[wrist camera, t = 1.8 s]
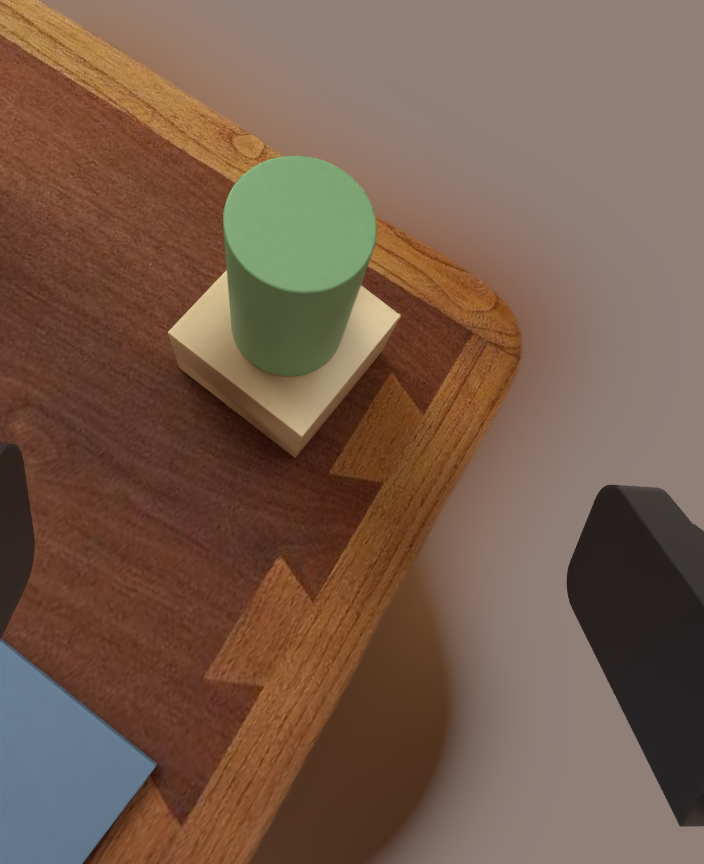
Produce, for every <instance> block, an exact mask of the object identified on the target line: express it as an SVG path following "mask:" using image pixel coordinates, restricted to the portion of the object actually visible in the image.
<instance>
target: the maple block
mask: <svg viewBox="0 0 704 864" xmlns="http://www.w3.org/2000/svg"><path fill="white" fill-rule="evenodd" d="M399 318H400V315H399V314H398V313H397V312H395V311H394V310H393V309H391V308H390V307H389V306H387V305H386V304H385V303H383V302H382V301H381V300H380V299H378V298H377V297H376V296H374V295H373V294H372V293H370V292H369V291H368V290H366V289H365V288H364V287H363V286H360V289H359V292H358V295H357V298H356V300H355V303H354V306H353V309H352V312H351V315H350V317H349V320H348V323H347V326H346V329H345V332H344V334H343V337H342V340H341V343H340V346H339V347H338V349H337V351H336V353H335V354H334V355H333V357H332V358H331V359H330V360H329V361H328V362H327V363H326V364H324V365H323V366H322V367H320V368H319V369H317V370H315V371H313V372H310V373H307V374H304V375H299V376H279V375H275V374H271V373H269V372H266V371H264V370H262V369H260V368H258V367H256V366H255V365H253V364H252V363H251V362H250V361H249V360H248V359H246V357H245V356H244V355H243V354H242V353H241V351H240V350H239V348H238V347H237V344H236V342H235V340H234V337H233V334H232V329H231V318H230V305H229V292H228V279H227V270H226V271H225V272H224V273H223V275H222V276H221V277H220V278H219V279H218V280H217V281H216V282H215V283H214V284H213V285H212V286H211V287H210V288H209V289H208V290H207V291H206V293H205V294H204V295H203V296H202V297H201V298H200V299H199V300H198V301H197V302H196V303H195V304H194V305H193V306H192V307H191V308H190V309H189V311H188V312H187V313H186V314H185V315H184V316H183V317H182V318H181V319H180V320H179V321H178V322H177V323H176V324H175V325H174V326H173V327H172V328H171V330H170V331H169V332H168V335H169V338H170V341H171V344H172V347H173V350H174V353H175V356H176V359H177V362H178V366H179V368H180V369H181V370H183V371H184V372H185V373H186V374H188V375H189V376H190V377H192V378H193V379H194V380H195V381H197V382H198V383H199V384H201V385H202V386H203V387H204V388H206V389H207V390H208V391H210V392H211V393H212V394H213V395H215V396H216V397H217V398H218V399H220V400H221V401H222V402H224V403H225V404H226V405H227V406H229V407H230V408H231V409H233V410H234V411H235V412H236V413H238V414H239V415H240V416H242V417H243V418H244V419H245V420H247V421H248V422H249V423H251V424H252V425H253V426H254V427H256V428H257V429H258V430H260V431H261V432H262V433H263V434H265V435H266V436H267V437H269V438H270V439H271V440H272V441H274V442H275V443H276V444H278V445H279V446H280V447H281V448H283V449H284V450H285V451H287V452H288V453H289V454H290V455H292V456H293V457H294V458H296V457H297V456H298V454H299V453H300V452H301V451H302V450H303V448H304V447H305V446H306V445H307V443H308V442H309V441H310V440H311V438H312V437H313V436H314V435H315V433H316V432H317V431H318V430H319V429H320V427H321V426H322V425H323V424H324V422H325V421H326V420H327V419H328V417H329V416H330V415H331V414H332V412H333V411H334V410H335V409H336V408H337V406H338V405H339V404H340V403H341V401H342V400H343V399H344V398H345V396H346V395H347V394H348V393H349V391H350V390H351V389H352V388H353V387H354V385H355V384H356V383H357V382H358V380H359V379H360V378H361V377H362V375H363V374H364V373H365V372H366V370H367V369H368V368H369V367H370V365H371V364H372V363H373V362H374V361H375V359H376V358H377V357H378V356H379V354H380V353H381V352H382V350H383V348H384V346H385V345H386V343H387V341H388V339H389V337H390V335H391V333H392V331H393V330H394V328H395V326H396V324H397V322H398V320H399Z"/></svg>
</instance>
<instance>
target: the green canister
mask: <svg viewBox="0 0 704 864" xmlns="http://www.w3.org/2000/svg"><path fill="white" fill-rule="evenodd" d="M223 228H224V241H225V254H226V267H227V279H228V292H229V305H230V318H231V329H232V334H233V337H234V340H235V342H236V344H237V347H238V348H239V350H240V351H241V353H242V354H243V355H244V356H245V357H246V359H248V360H249V361H250V362H251V363H252V364H253V365H255V366H256V367H258V368H260V369H262V370H264V371H266V372H269V373H271V374H275V375H279V376H299V375H304V374H307V373H310V372H313V371H315V370H317V369H319V368H320V367H322V366H323V365H324V364H326V363H327V362H328V361H329V360H330V359H331V358H332V357H333V355H334V354H335V353H336V351H337V349H338V347H339V346H340V343H341V340H342V337H343V334H344V332H345V329H346V326H347V323H348V320H349V317H350V315H351V312H352V309H353V306H354V303H355V300H356V298H357V295H358V292H359V289H360V286H361V283H362V281H363V278H364V275H365V272H366V269H367V266H368V264H369V261H370V258H371V255H372V252H373V249H374V247H375V242H376V234H377V226H376V218H375V214H374V210H373V208H372V205H371V202H370V200H369V199H368V197H367V195H366V193H365V192H364V190H363V189H362V188H361V187H360V185H359V184H358V183H357V182H356V181H355V180H354V179H353V178H352V177H351V176H350V175H348V174H347V173H346V172H344V171H343V170H341V169H340V168H338V167H336V166H335V165H333V164H330V163H328V162H326V161H323V160H320V159H316V158H312V157H306V156H283V157H278V158H273V159H270V160H267V161H264V162H262V163H260V164H258V165H256V166H255V167H253V168H252V169H250V170H248V171H247V172H246V173H245V174H244V175H243V176H242V177H241V178H240V179H239V180H238V181H237V182H236V184H235V185H234V187H233V188H232V190H231V191H230V193H229V196H228V198H227V200H226V204H225V207H224V214H223Z"/></svg>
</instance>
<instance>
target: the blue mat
mask: <svg viewBox="0 0 704 864" xmlns="http://www.w3.org/2000/svg"><path fill="white" fill-rule="evenodd" d="M156 766H157V763H156V762H155V761H153V760H152V759H151V758H150V757H148V756H147V755H146V754H145V753H143V752H142V751H141V750H140V749H138V748H137V747H136V746H135V745H133V744H132V743H131V742H130V741H128V740H127V739H126V738H125V737H123V736H122V735H121V734H120V733H118V732H117V731H116V730H115V729H113V728H112V727H111V726H110V725H108V724H107V723H106V722H105V721H103V720H102V719H101V718H100V717H99V716H97V715H96V714H95V713H94V712H92V711H91V710H90V709H89V708H87V707H86V706H85V705H84V704H82V703H81V702H80V701H79V700H77V699H76V698H75V697H74V696H72V695H71V694H70V693H69V692H67V691H66V690H65V689H64V688H62V687H61V686H60V685H59V684H57V683H56V682H55V681H54V680H52V679H51V678H50V677H49V676H48V675H46V674H45V673H44V672H43V671H41V670H40V669H39V668H38V667H36V666H35V665H34V664H33V663H31V662H30V661H29V660H28V659H26V658H25V657H24V656H23V655H21V654H20V653H19V652H18V651H16V650H15V649H14V648H13V647H11V646H10V645H9V644H8V643H6V642H5V641H4V640H3V639H0V864H83V863H84V861H85V860H86V859H87V857H88V856H89V855H90V853H91V852H92V851H93V849H94V848H95V847H96V845H97V844H98V843H99V842H100V840H101V839H102V838H103V836H104V835H105V834H106V832H107V831H108V830H109V828H110V827H111V826H112V824H113V823H114V822H115V820H116V819H117V818H118V816H119V815H120V814H121V812H122V811H123V810H124V808H125V807H126V806H127V805H128V803H129V802H130V801H131V799H132V798H133V797H134V795H135V794H136V793H137V791H138V790H139V789H140V787H141V786H142V785H143V783H144V782H145V781H146V779H147V778H148V777H149V775H150V774H151V773H152V771H153V770H154V769H155V768H156Z"/></svg>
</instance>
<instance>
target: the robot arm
mask: <svg viewBox="0 0 704 864" xmlns="http://www.w3.org/2000/svg"><path fill="white" fill-rule="evenodd" d="M33 558H34V532H33V525H32V518H31V511H30V504H29V497H28V490H27V483H26V476H25V469H24V462H23V457H22V453H21V451H20V449H19V447H18V446H17V445H15V444H9V443H0V639H1V637H2V635H3V633H4V631H5V629H6V627H7V625H8V623H9V621H10V619H11V616H12V614H13V612H14V610H15V608H16V606H17V604H18V602H19V600H20V598H21V595H22V593H23V591H24V589H25V587H26V585H27V582H28V580H29V577H30V573H31V569H32V564H33ZM567 573H568V574H567V592H568V597H569V601H570V604H571V606H572V609H573V611H574V613H575V615H576V617H577V619H578V621H579V623H580V625H581V627H582V629H583V631H584V633H585V635H586V637H587V639H588V641H589V643H590V645H591V647H592V649H593V651H594V654H595V655H596V658H597V660H598V662H599V664H600V666H601V667H602V670H603V672H604V674H605V676H606V678H607V680H608V682H609V684H610V686H611V688H612V690H613V692H614V694H615V696H616V698H617V700H618V702H619V704H620V706H621V708H622V710H623V712H624V714H625V716H626V718H627V720H628V722H629V724H630V726H631V728H632V730H633V732H634V734H635V736H636V738H637V740H638V742H639V744H640V746H641V749H642V750H643V752H644V755H645V757H646V759H647V761H648V763H649V765H650V767H651V769H652V771H653V773H654V775H655V777H656V779H657V781H658V783H659V785H660V787H661V789H662V791H663V793H664V795H665V797H666V799H667V801H668V803H669V805H670V807H671V809H672V811H673V813H674V815H675V817H676V819H677V821H678V823H679V825H680V826H704V531H703V530H701V529H700V528H698V527H697V526H696V525H694V524H692V522H690V520H689V519H688V518H687V516H686V515H685V514H684V513H683V512H682V510H681V509H680V508H679V507H678V506H677V504H676V503H675V502H674V501H673V499H672V498H671V497H670V496H669V495H668V494H667V493H666V492H665V491H664V490H662V489H660V488H652V487H636V486H622V485H607V486H605V487H603V488H602V489H601V490H600V491H599V493H598V495H597V497H596V499H595V501H594V504H593V506H592V509H591V511H590V514H589V516H588V518H587V521H586V523H585V526H584V528H583V531H582V533H581V536H580V538H579V541H578V543H577V546H576V548H575V551H574V553H573V556H572V559H571V561H570V564H569V567H568V572H567Z"/></svg>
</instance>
